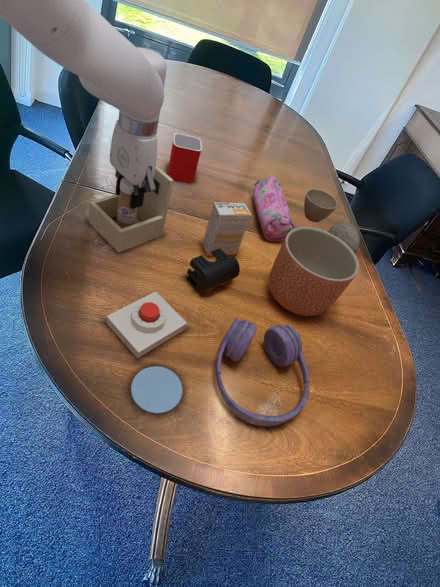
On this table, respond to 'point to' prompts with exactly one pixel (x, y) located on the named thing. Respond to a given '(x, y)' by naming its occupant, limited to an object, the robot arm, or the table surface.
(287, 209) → the pencil case
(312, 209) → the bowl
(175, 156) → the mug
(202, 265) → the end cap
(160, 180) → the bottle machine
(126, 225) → the sprinkles bottle
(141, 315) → the release button
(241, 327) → the headphones
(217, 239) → the supplement box
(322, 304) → the planter
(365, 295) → the table surface
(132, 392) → the coaster
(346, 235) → the decorative stone
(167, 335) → the button block
